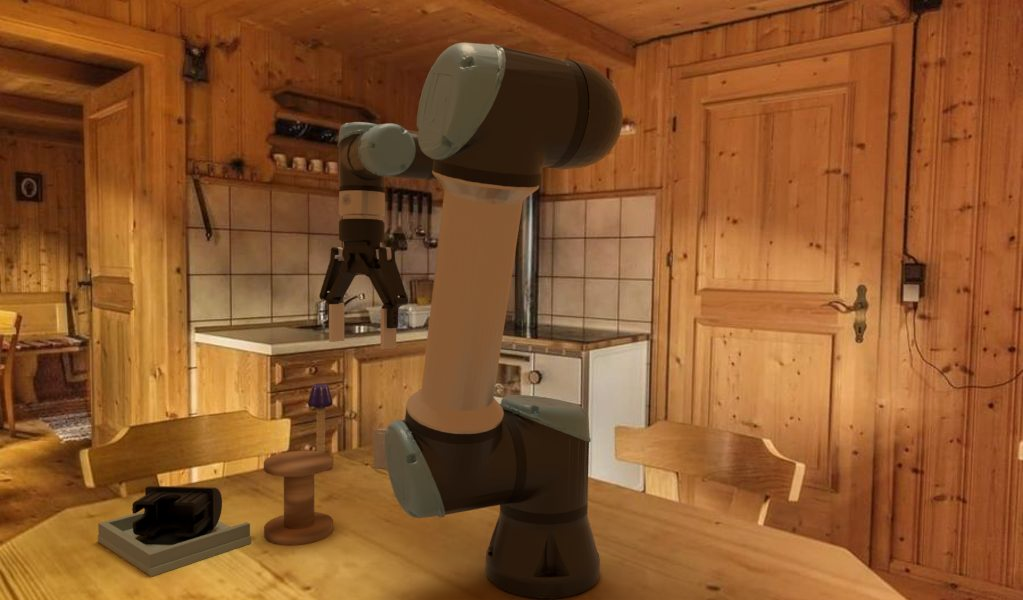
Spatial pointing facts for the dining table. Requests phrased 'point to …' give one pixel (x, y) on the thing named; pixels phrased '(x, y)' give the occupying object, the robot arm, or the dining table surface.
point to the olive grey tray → (168, 557)
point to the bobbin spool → (298, 498)
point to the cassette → (379, 449)
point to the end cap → (176, 514)
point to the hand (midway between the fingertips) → (361, 344)
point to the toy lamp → (320, 411)
